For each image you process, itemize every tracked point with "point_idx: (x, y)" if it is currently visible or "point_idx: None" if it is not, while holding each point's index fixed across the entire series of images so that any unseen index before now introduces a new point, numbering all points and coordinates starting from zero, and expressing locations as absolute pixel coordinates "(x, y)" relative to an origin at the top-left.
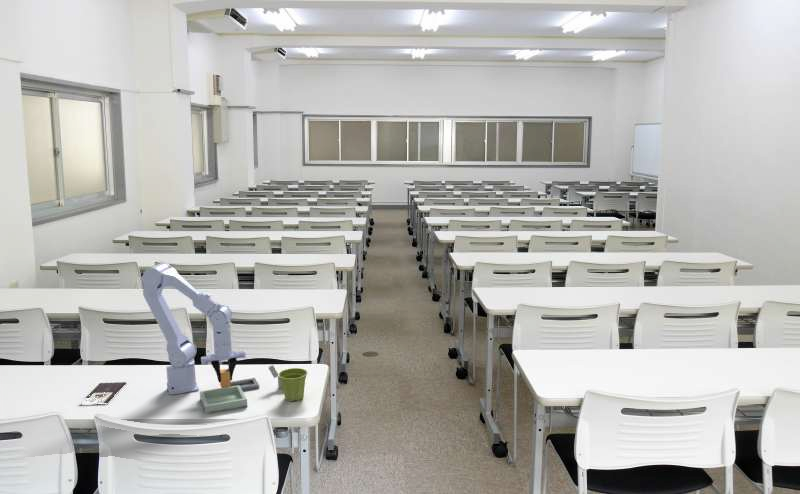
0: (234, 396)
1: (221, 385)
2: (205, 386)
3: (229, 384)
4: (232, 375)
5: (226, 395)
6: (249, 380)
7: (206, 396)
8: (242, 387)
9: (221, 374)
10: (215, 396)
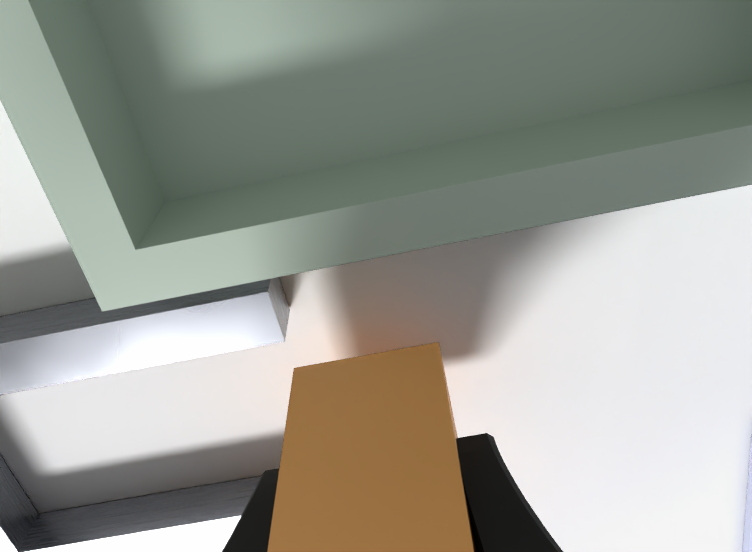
0: (185, 10)
1: (444, 374)
2: (642, 516)
3: (306, 394)
4: (226, 545)
5: (347, 97)
6: (56, 541)
7: (717, 92)
8: (93, 327)
9: (456, 548)
10: (547, 94)
